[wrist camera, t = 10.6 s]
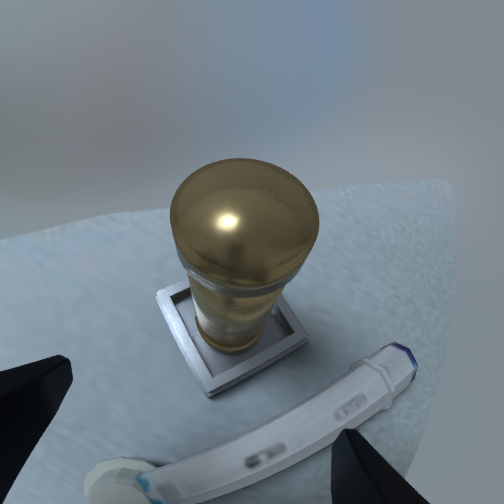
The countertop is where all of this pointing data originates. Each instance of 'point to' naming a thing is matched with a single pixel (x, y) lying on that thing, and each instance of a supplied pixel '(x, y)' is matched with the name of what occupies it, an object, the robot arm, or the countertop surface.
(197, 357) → the shallow square tray
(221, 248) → the brass domed cylinder
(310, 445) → the white long piece
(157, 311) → the countertop surface
